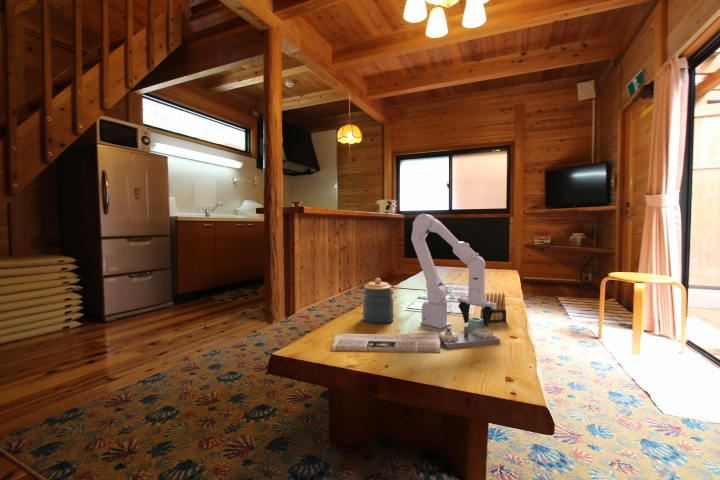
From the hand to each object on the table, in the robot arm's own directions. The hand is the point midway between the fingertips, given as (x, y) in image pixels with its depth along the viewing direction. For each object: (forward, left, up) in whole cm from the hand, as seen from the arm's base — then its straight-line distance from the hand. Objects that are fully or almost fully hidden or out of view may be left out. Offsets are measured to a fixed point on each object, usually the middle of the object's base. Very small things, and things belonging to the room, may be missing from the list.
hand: (475, 324), depth 123 cm
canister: (-34, -17, -2) cm, 39 cm away
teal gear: (0, 0, -2) cm, 2 cm away
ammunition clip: (0, +14, -2) cm, 14 cm away
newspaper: (-14, -35, -3) cm, 38 cm away
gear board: (+4, -14, -2) cm, 15 cm away
